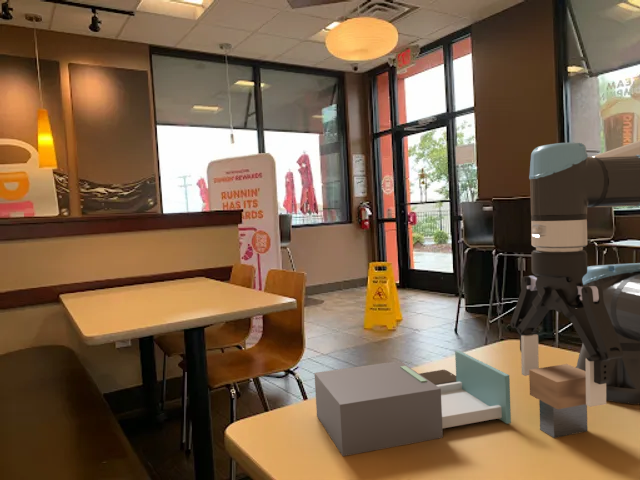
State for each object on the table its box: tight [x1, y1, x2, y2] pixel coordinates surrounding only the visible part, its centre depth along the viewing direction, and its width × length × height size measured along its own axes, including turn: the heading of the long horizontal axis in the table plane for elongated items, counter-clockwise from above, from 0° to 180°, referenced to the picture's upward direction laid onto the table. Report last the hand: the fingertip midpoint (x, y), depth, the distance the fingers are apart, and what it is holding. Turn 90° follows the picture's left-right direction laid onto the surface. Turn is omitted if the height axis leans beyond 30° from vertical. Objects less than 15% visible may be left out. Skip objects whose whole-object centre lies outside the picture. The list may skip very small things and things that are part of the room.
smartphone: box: [419, 369, 456, 385], centre depth 98 cm, size 7×1×16 cm
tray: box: [436, 350, 512, 429], centre depth 82 cm, size 16×15×8 cm
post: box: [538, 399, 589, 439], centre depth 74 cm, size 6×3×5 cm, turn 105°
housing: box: [314, 360, 444, 457], centre depth 79 cm, size 16×15×8 cm
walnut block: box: [528, 363, 586, 409], centre depth 74 cm, size 7×6×4 cm
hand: (560, 388), depth 74 cm, fingers open, 13 cm apart
